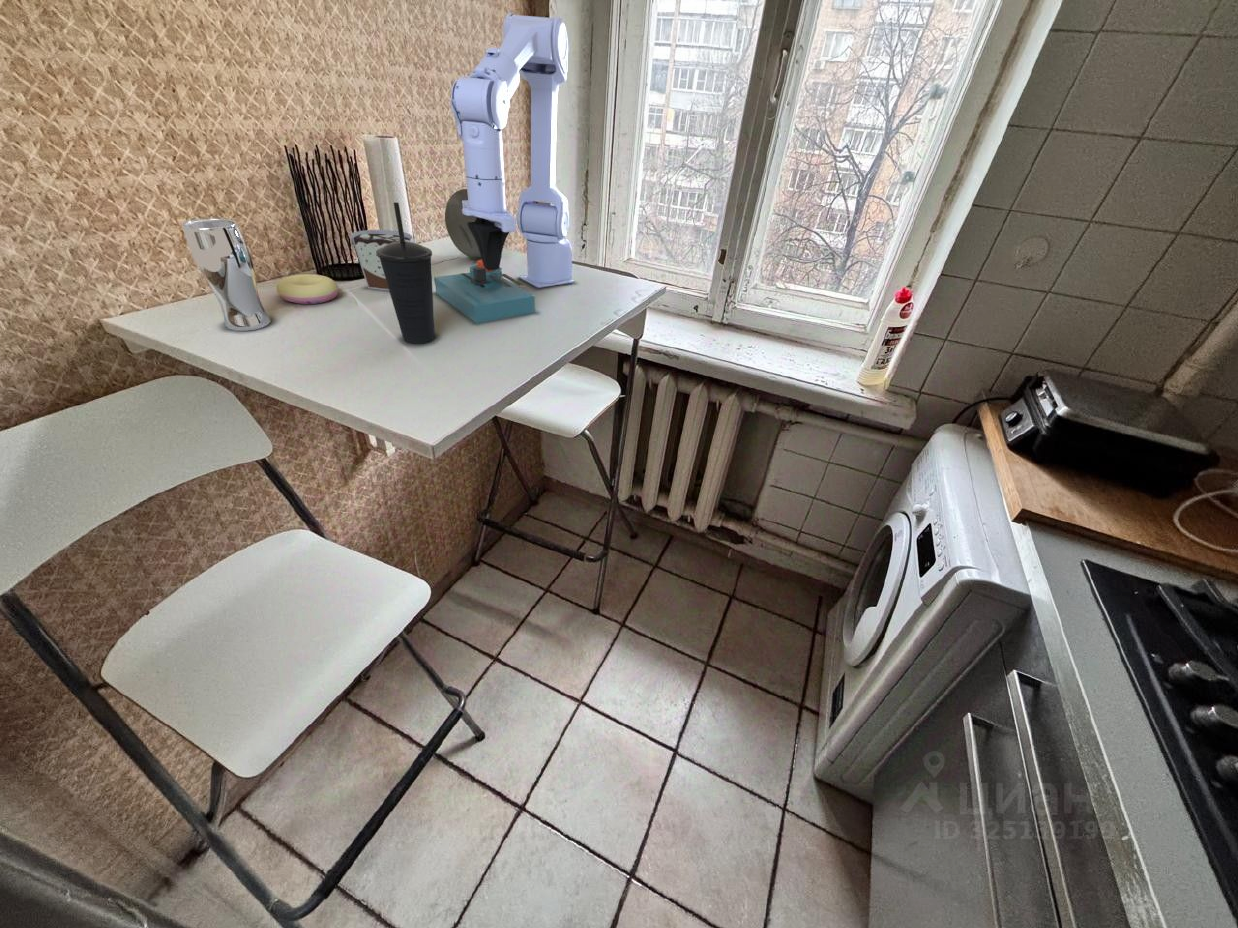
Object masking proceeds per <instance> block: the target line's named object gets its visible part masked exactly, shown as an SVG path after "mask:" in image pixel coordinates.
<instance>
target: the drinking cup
mask: <svg viewBox="0 0 1238 928" xmlns="http://www.w3.org/2000/svg"><path fill="white" fill-rule="evenodd" d="M393 208H394V214H395V221H396V227H397V231H399V237H400V241H398V242H393V243H390V244H387V245H385V246H384V247H382V248H379V249H378V250H377V251H376V254H377V256H378V257H379V258H380V261H381V264H382V268H383V271H384V275H385V278H386V281H387V285H388V288H389V290H388V291H389V295H390V298H391V301H392V305H393V308H394V312H395V315H396V318H397V322H398V326H399V328H400V329H399V330H400V333H401V335H402V339H403V341H404V342H405V343H406V344H409V345H415V346H421V345H427V344H430V343H432V342H434V341H435V340H436V331H435V314H434V313H435V312H434V293H433V292H434V291H433V276H432V256H433V251H432V249H430V248H428V247H426V246H424V245H421V244H419V243H416V242H415V243H413V242H408V241H405V237H404V232H405V231H404V226H403V220H402V214H401V208H400V203H399V202H393Z"/></svg>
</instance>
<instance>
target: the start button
mask: <svg viewBox="0 0 1238 928" xmlns="http://www.w3.org/2000/svg"><path fill="white" fill-rule="evenodd" d="M476 265H477V267H483V268H485V267H484V265H483V262H482V260H476ZM489 271H494V270H487V269H486V272H489Z"/></svg>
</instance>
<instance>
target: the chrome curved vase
mask: <svg viewBox="0 0 1238 928" xmlns="http://www.w3.org/2000/svg"><path fill="white" fill-rule="evenodd" d="M180 226H181V228H182V230H183V231H182V232H183V234H184V238H185V240H186V244H187V246H188V249H189V251H190V254H191V256H192V258H193V260H194V263H195V265H196V267H197V269H198V271H199V272H200V274H201V276H202V277H203V279H204V280H205V282H206V283H207V285H208V286H209V288H210V289H211V291H212V293H213V295H214V296H215V297H216V299H217V302H218V303H219V306H220V308H221V311H222V317H223V322H224V325H225V327H226V328H227V329H229V330H230V331H235V332H245V331H246V332H247V331H254V330H260V329H263V328H265V327H267V326H269V325H270V324H271V318H270V316H269V315H268V313H267V311H266V309H265V307H264V306H263V304H262V302H261V299H260V295H259V290H258V286H257V279H256V273H255V267H254V263H253V259H252V256H251V253H250V249H249V248H248V244H247V242H246V241H245V238H244V236H243V234H242V231H241V229H240V227H239V225H238V222H237V221H236V220H233V219H229V218H228V219H227V218H198V219H191V220H186V221H184V222H182V223H181V224H180Z"/></svg>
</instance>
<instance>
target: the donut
mask: <svg viewBox="0 0 1238 928" xmlns="http://www.w3.org/2000/svg"><path fill="white" fill-rule="evenodd" d="M275 287H276V288H275V289H276V292H277V295H278V296H279V297H281V299H283V300H284V301H287V302H290V303H293V304H301V305H314V304H321V303H322V304H323V303H326V302H329V301H331V300H334V299H335V298H336V297H337V296H338V293H339V286H338V283H337V282H336V281H335V280H333V279H332V278H330V277H328V276H325V275H321V274H315V273H313V274H311V273H305V274H303V273H302V274H294V275H290V276H285V277H283V278H281V279H280V280H279V281H278V282H277V283H276V286H275Z"/></svg>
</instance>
